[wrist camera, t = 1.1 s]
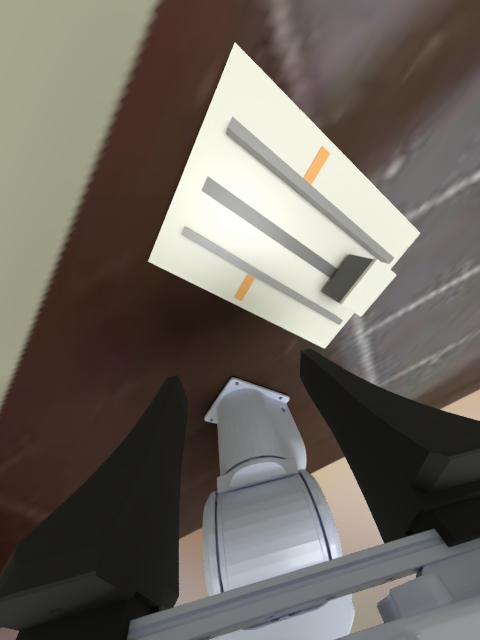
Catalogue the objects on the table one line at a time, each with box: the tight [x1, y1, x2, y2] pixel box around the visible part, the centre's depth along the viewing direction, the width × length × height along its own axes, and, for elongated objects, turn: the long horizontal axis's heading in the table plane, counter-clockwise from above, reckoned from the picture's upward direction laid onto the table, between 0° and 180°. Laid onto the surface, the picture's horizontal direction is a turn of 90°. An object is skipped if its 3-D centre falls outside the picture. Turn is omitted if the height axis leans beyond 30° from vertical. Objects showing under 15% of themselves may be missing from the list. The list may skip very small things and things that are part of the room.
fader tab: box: [322, 254, 396, 317], centre depth 17 cm, size 2×4×3 cm, turn 150°
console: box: [148, 43, 420, 349], centre depth 17 cm, size 20×14×3 cm
